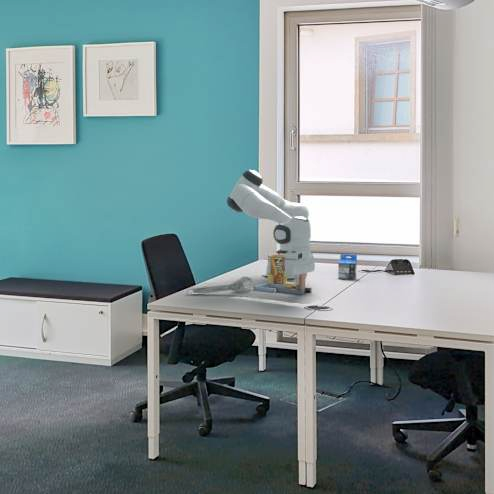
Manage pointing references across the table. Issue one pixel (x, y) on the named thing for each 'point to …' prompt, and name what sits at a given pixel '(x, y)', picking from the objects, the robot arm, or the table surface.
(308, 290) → the channel
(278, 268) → the candy box
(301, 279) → the pinkish tan block
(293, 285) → the chip
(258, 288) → the tray
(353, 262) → the label tape cartridge
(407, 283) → the table surface
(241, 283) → the wrench
